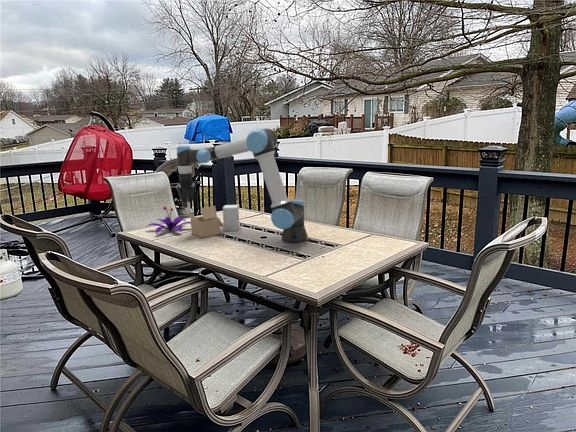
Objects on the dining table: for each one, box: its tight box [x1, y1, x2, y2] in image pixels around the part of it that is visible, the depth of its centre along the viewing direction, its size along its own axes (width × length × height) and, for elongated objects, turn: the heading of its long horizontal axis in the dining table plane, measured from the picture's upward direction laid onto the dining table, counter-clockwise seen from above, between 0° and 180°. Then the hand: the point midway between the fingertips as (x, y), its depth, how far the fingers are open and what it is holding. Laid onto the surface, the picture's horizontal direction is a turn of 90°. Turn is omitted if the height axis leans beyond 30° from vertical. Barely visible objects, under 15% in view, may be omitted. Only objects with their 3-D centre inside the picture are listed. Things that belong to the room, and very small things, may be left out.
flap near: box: [201, 205, 218, 220], centre depth 249 cm, size 1×9×7 cm, turn 130°
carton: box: [190, 215, 224, 239], centre depth 258 cm, size 16×16×10 cm
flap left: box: [182, 211, 199, 221], centre depth 248 cm, size 9×1×7 cm
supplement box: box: [222, 204, 240, 232], centre depth 266 cm, size 9×9×15 cm
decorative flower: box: [145, 206, 191, 234], centre depth 266 cm, size 28×31×15 cm
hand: (188, 212), depth 248 cm, fingers closed
